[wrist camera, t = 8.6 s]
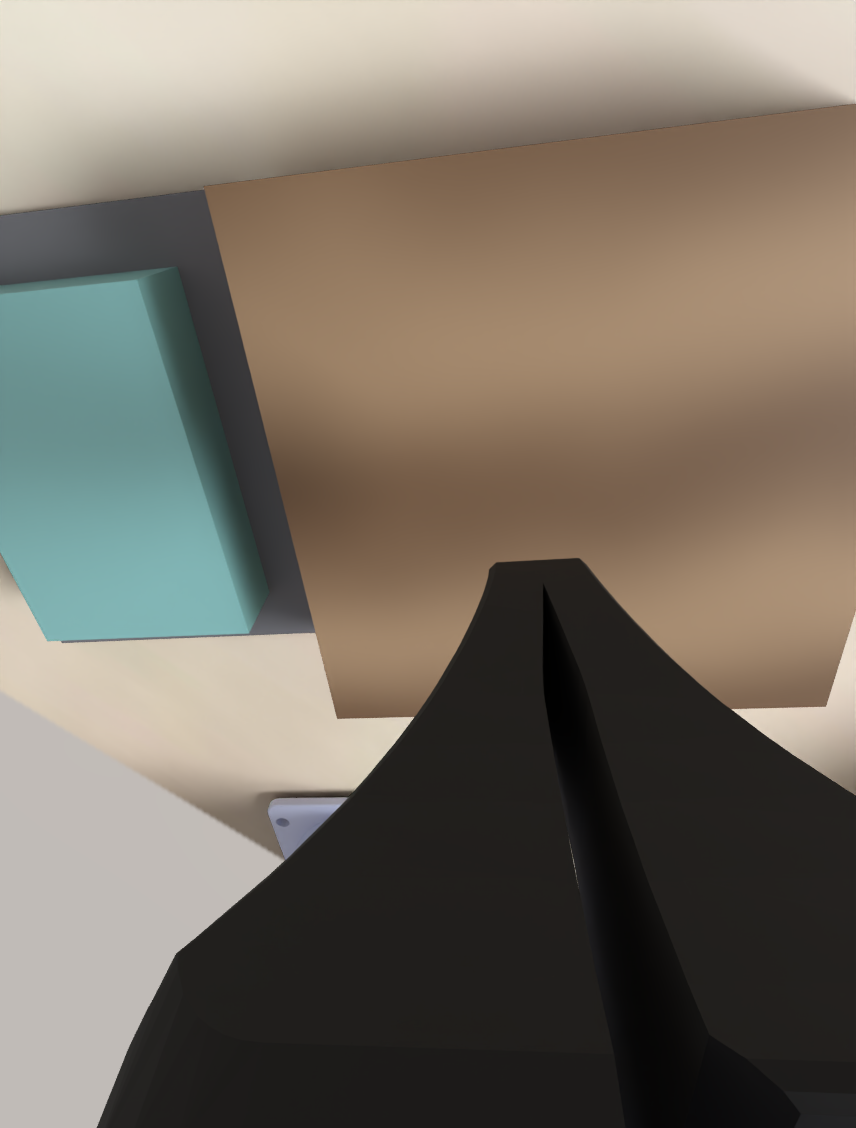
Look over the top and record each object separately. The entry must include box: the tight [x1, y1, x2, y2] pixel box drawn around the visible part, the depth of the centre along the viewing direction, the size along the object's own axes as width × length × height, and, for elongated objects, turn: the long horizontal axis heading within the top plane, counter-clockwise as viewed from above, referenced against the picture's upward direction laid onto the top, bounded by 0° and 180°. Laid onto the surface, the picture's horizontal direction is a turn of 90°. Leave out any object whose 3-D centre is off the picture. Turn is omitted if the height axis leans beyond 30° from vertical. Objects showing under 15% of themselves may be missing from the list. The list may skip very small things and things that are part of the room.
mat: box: [0, 190, 316, 643], centre depth 17 cm, size 12×9×1 cm
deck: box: [204, 104, 856, 719], centre depth 14 cm, size 12×12×4 cm
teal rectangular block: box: [0, 267, 269, 641], centre depth 16 cm, size 9×6×2 cm, turn 6°
